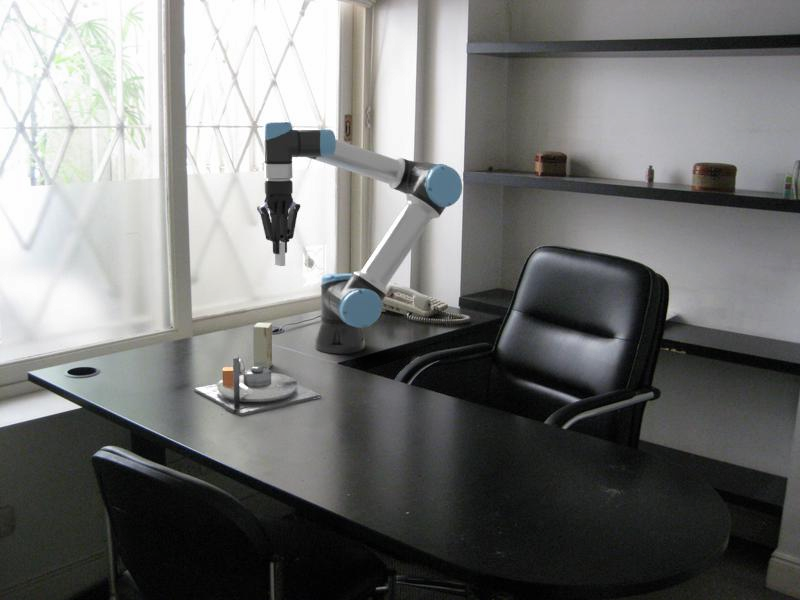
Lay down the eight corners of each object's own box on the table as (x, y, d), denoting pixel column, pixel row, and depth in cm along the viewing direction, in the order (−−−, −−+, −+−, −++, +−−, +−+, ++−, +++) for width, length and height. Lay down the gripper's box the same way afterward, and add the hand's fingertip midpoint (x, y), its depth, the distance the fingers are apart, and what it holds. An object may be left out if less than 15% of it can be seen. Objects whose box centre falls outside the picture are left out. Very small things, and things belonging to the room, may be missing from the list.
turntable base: (271, 375, 233) (271, 371, 233) (320, 397, 216) (320, 393, 216) (194, 391, 218) (194, 387, 218) (241, 416, 201) (240, 411, 201)
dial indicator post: (236, 404, 210) (236, 353, 207) (248, 410, 206) (247, 358, 203) (222, 407, 207) (221, 355, 204) (233, 413, 203) (233, 361, 200)
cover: (244, 379, 220) (243, 363, 219) (271, 379, 221) (271, 363, 220) (242, 387, 213) (242, 371, 212) (271, 387, 214) (270, 371, 213)
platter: (221, 377, 226) (220, 357, 224) (297, 377, 228) (297, 357, 227) (213, 402, 206) (212, 381, 205) (296, 401, 208) (296, 380, 207)
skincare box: (268, 370, 238) (268, 327, 235) (253, 369, 238) (252, 327, 235) (272, 363, 244) (272, 322, 242) (257, 363, 244) (257, 321, 242)
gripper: (290, 177, 239) (291, 260, 244) (250, 179, 230) (252, 266, 235) (306, 179, 233) (307, 264, 238) (265, 181, 225) (268, 269, 230)
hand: (280, 265), depth 237 cm, fingers closed
